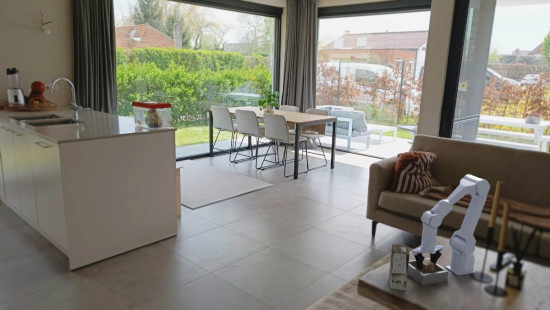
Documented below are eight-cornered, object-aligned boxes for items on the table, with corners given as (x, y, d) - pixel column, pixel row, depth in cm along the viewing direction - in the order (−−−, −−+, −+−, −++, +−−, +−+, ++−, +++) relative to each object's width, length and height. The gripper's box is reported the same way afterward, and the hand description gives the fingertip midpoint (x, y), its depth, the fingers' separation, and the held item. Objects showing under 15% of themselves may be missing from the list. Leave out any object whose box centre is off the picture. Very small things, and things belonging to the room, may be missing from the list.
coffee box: (406, 290, 163) (410, 254, 159) (390, 288, 164) (393, 253, 160) (403, 279, 171) (407, 245, 168) (388, 277, 172) (391, 243, 169)
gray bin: (427, 266, 183) (428, 257, 182) (447, 280, 171) (448, 271, 170) (403, 270, 179) (404, 261, 178) (422, 285, 167) (423, 275, 166)
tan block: (426, 271, 177) (427, 259, 176) (433, 276, 173) (434, 263, 172) (417, 272, 176) (419, 260, 174) (424, 277, 172) (425, 265, 170)
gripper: (420, 244, 165) (417, 274, 168) (449, 240, 169) (445, 269, 172) (410, 237, 171) (407, 266, 174) (437, 234, 176) (434, 262, 179)
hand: (425, 267), depth 174 cm, fingers open, 6 cm apart
